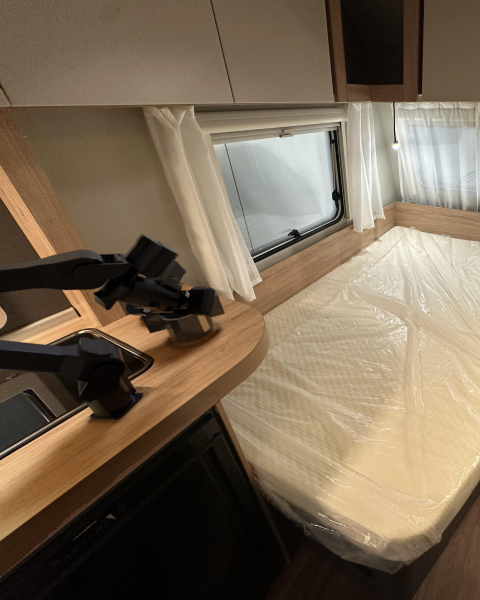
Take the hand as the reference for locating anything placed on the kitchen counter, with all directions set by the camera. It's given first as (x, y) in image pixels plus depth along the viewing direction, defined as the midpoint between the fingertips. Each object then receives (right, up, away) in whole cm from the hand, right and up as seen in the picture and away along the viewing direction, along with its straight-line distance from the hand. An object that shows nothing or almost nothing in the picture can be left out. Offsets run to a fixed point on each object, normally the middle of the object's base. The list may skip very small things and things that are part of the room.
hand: (197, 309), depth 78 cm
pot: (-6, -6, +8) cm, 12 cm away
